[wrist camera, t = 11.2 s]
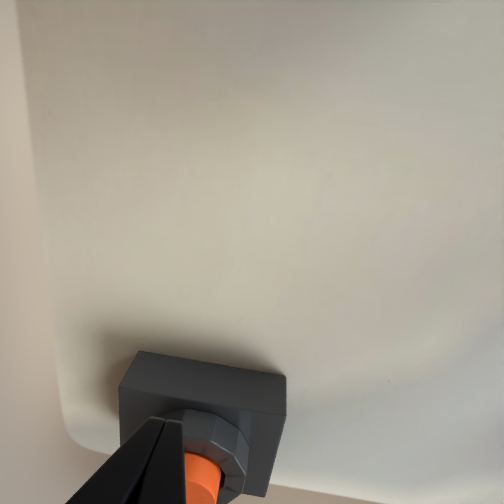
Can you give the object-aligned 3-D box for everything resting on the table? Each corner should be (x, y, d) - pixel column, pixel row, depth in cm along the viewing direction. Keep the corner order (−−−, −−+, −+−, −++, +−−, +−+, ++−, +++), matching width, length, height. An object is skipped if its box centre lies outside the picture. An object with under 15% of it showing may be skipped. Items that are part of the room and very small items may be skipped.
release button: (160, 481, 22) (150, 512, 20) (162, 443, 20) (151, 473, 19) (218, 492, 22) (212, 524, 20) (224, 454, 20) (219, 485, 19)
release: (138, 430, 27) (108, 499, 22) (138, 350, 24) (103, 412, 19) (267, 454, 27) (263, 528, 22) (286, 376, 23) (286, 445, 19)
